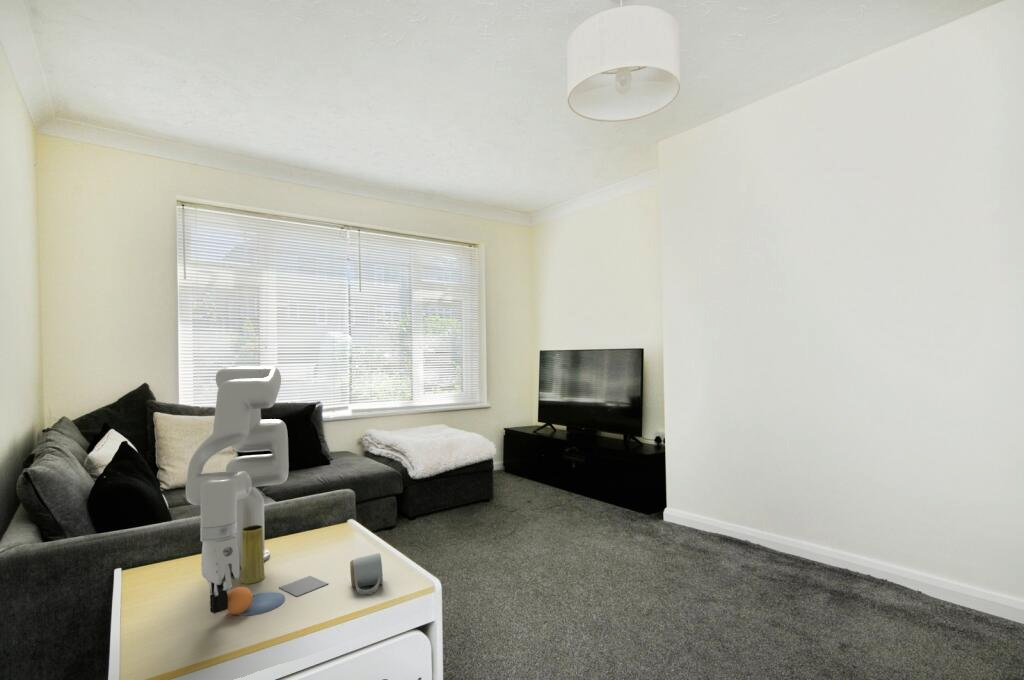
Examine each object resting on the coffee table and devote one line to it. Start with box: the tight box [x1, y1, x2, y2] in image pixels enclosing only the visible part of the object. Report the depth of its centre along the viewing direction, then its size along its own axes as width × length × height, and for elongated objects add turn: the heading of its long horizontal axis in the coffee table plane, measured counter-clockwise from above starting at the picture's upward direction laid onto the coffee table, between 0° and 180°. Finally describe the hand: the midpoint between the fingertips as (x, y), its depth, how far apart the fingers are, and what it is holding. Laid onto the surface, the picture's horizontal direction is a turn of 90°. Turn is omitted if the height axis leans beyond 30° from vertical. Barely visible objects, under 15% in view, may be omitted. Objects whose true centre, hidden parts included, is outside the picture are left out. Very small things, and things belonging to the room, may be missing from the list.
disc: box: [236, 591, 286, 617], centre depth 130 cm, size 12×12×1 cm
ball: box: [225, 586, 253, 616], centre depth 126 cm, size 6×6×6 cm
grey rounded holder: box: [349, 552, 384, 595], centre depth 139 cm, size 11×8×8 cm
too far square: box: [278, 575, 329, 598], centre depth 140 cm, size 9×9×1 cm
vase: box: [239, 525, 266, 585], centre depth 145 cm, size 6×6×14 cm
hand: (218, 610), depth 122 cm, fingers closed
